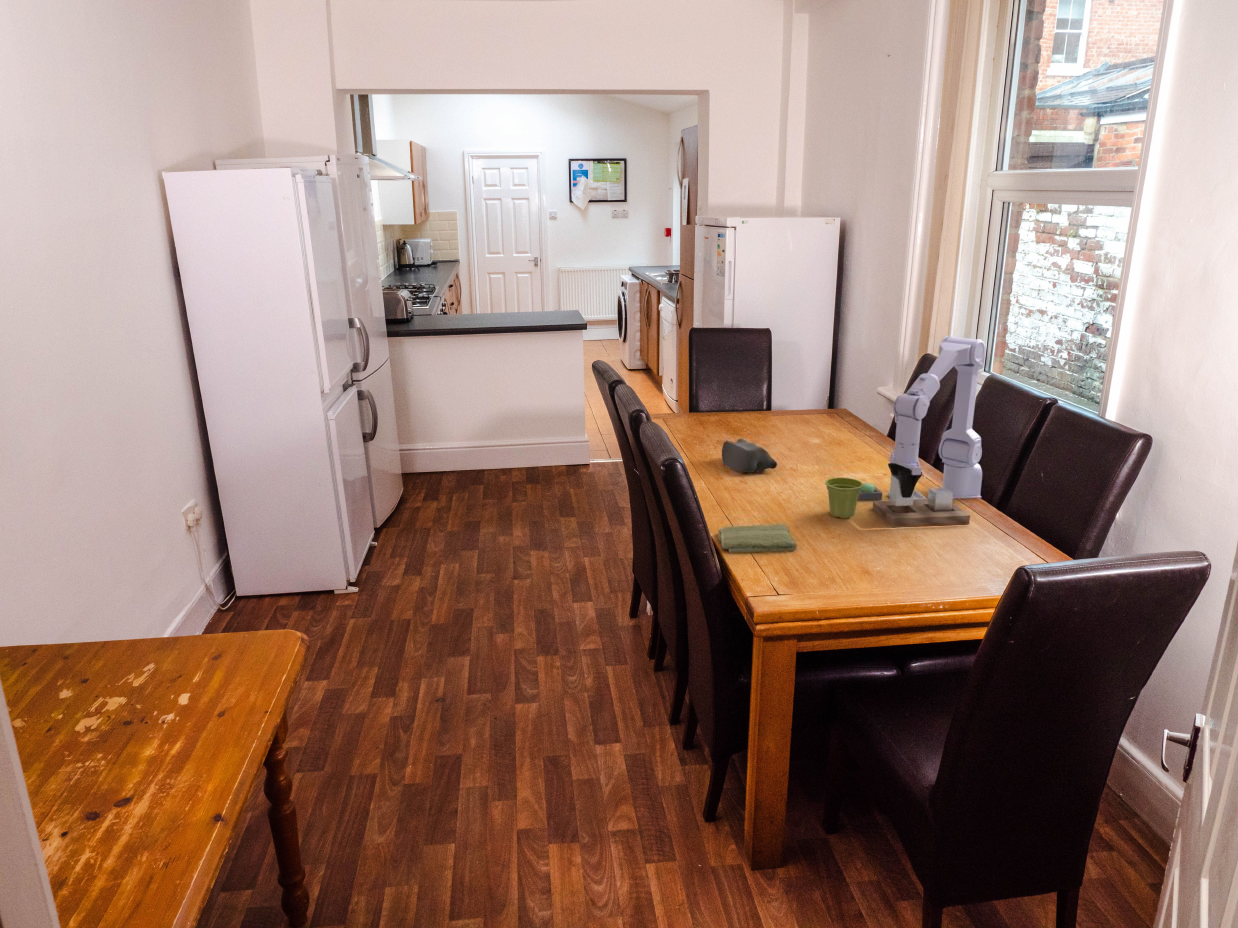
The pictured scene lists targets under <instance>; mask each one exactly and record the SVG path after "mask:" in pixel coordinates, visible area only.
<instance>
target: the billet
mask: <svg viewBox="0 0 1238 928" xmlns="http://www.w3.org/2000/svg"><path fill="white" fill-rule="evenodd" d="M889 486H890V487H889V491H890V497H889V496H888V497H889V500H888V501H891V502H892V503H893V504H894V505H895V506H907V505H913V498H914V491H913V493H912V496H911V498H903V497H902V493H901V480H900V476H899V474H891V473H890V482H889Z"/></svg>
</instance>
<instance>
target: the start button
mask: <svg viewBox="0 0 1238 928" xmlns="http://www.w3.org/2000/svg"><path fill="white" fill-rule="evenodd" d="M862 483H863V482H862ZM875 487H876V485H875V484H874V483H870V482H869V483H868V482H867V483H866V482H865V483H863V486H862V487H861V491H862V492H874V488H875Z"/></svg>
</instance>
